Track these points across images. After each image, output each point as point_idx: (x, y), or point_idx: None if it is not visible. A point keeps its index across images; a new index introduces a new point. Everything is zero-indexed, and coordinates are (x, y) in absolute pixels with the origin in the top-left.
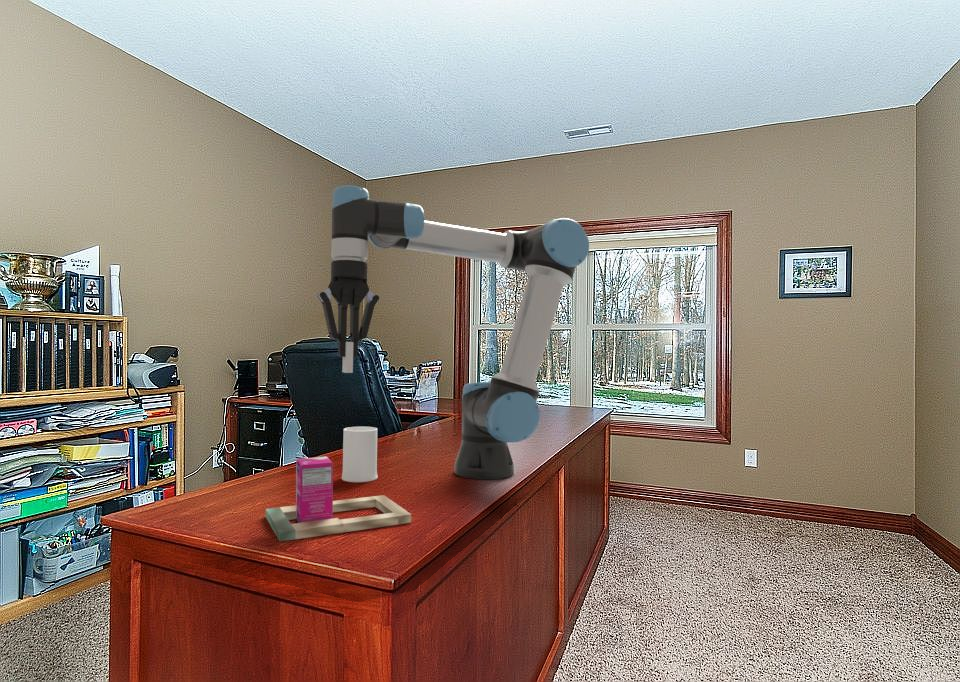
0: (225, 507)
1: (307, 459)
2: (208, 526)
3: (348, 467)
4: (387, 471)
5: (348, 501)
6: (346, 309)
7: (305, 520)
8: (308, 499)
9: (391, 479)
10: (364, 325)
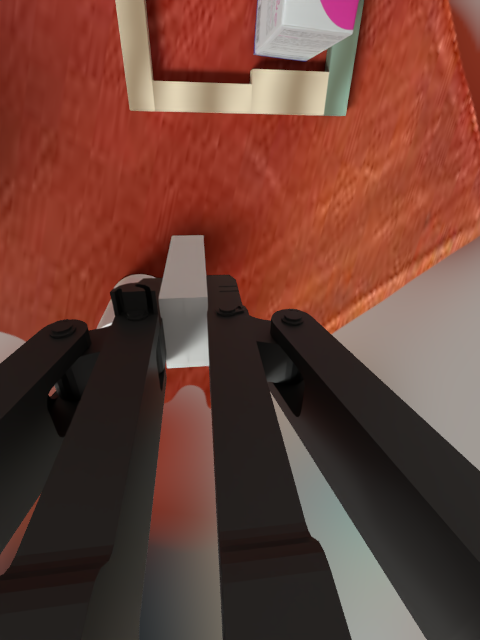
0: (370, 206)
1: (334, 5)
2: (423, 104)
3: None
4: None
5: (206, 92)
6: (229, 536)
7: None
8: None
9: (88, 275)
10: (22, 391)
